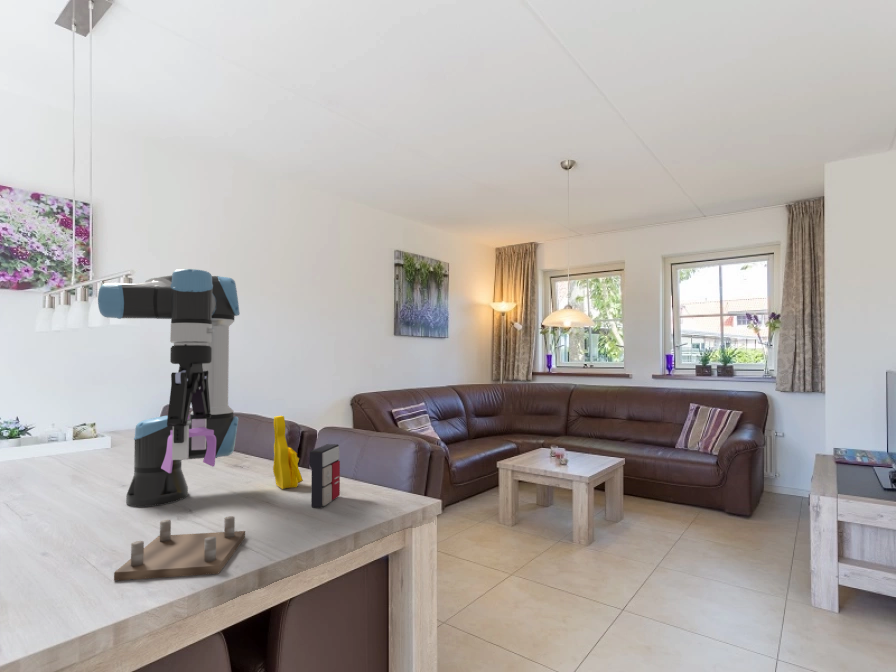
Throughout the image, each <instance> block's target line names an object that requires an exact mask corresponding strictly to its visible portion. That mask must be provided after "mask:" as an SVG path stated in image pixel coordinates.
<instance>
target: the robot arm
mask: <svg viewBox="0 0 896 672" xmlns="http://www.w3.org/2000/svg"><path fill="white" fill-rule="evenodd" d="M97 294H98V295H97V304H98V310H99V312H100V314H101V316H102V317H104V318H107V319H108V318H110V319H119V320H121V319H153V320H154V319H156V320H157V319H158V320H160V319H161V320H170V321H171V322H170V338H169V339H170V341H169V342H170V343H172V344H173V345H171V347H170V361H169V362H170V363H171V364H173V365H179V366H178V372H177V371H176V372H171V374H170V378H171V380H170V381H171V385H170V386H171V387H170V394H169V395H170V396H169V403H168V410H167V411H168V413H167V415H163V416H158V417H157V416H155V417H152V418H147V419H144V420H141V421H139V422H138V423H136V425H135V430H134V431H135V432H134V437H133V440H134V455H133V456H134V459H133V460H134V463H133V465H134V466H133V469H134V470H133V472H134V473H133V477H132V479H131V482H130V484H129V487H128V490H127V493H126V495H125V497H126V499H125V502H126V505H127V506H131V507H153V506H154V507H155V506H160V505H166V504H167V505H168V504H171V503H174V502H175V503H176V502H178V501H181V500H184V499H185V498H187V497H188V494H189V486H188V483H187V481H186V478H185V475H184V472H183V469H182V462H183V461H186V460H196V459H197V460H199V459H204V457H205V455H206V451H207V441H206V437H205V436H194V437H189V429H193V428H200V427H205V428H207V429H210V430H214V435H215V436H216V455H215V459H218V458H221V457H222V458H223V457H228V456H230V455H232V454H233V453H234V452H235V451H234V450H235V444H236V438H237V433H238V425H239V417H238V416H236V415H235V416H234V413H235V412H234V410H233V409H232V408H231V407H230V406H229V368H230V367H229V364H230V363H229V361H230V359H229V352H230V351H229V350H230V349H229V347H230V345H229V344H230V339H229V338H230V336H229V335H230V327H231V325H232V324H233V323H235V317H238V316H240V307H239V299H238V298H239V297H238V291H237V284H236V281H235V280H234V279H233V278H231V277H227V276H226V277H225V276H220V275H219V276H218V275H213V274H211V273H210V272H209V271H207V270H202V269H196V268H195V269H194V268H193V269H192V268H181V269H179V268H178V269H175V270H174V271H173V272H172V275H164V276H159V277H152V278H149V279H148V280H145V281H144V282H136V283H135V282H134V283H122V282H110V283H109V282H108V283H107V282H106V283H103V284H101V285H100V287H99V289H98V293H97ZM190 409H192V411H191V412H190ZM188 415H189V419H188ZM170 430H173V436H172V460H173V465H172V473H168V472H166V471H165V470H163V469H161V466H162V464H163V461H164V458H165V455H166V450H167V441H168V437H169V436H170Z"/></svg>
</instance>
